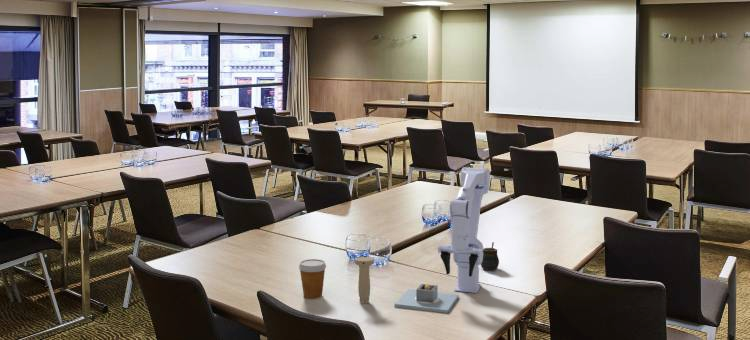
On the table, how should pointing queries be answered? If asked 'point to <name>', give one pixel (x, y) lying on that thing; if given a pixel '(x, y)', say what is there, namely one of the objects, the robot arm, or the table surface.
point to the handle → (364, 277)
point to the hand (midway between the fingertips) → (459, 274)
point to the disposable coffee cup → (312, 277)
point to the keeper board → (439, 305)
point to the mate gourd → (490, 259)
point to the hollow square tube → (426, 293)
